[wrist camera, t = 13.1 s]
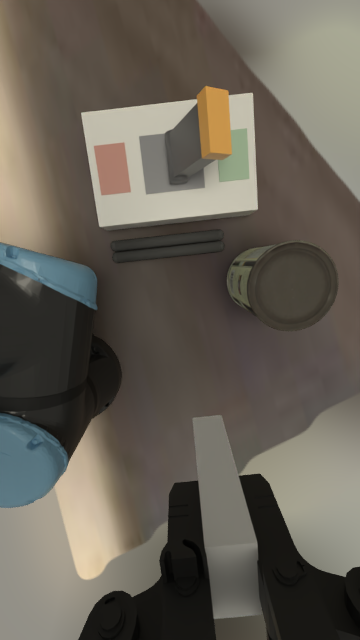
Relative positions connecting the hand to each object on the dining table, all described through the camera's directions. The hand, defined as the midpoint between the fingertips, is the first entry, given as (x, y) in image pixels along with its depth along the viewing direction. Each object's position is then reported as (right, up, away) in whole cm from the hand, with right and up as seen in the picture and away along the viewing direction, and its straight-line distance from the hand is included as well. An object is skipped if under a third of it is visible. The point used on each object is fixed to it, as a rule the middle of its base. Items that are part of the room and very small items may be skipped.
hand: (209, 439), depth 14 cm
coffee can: (+11, +13, +31) cm, 35 cm away
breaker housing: (-3, +28, +27) cm, 39 cm away
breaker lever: (-2, +27, +22) cm, 35 cm away
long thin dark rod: (-3, +18, +29) cm, 35 cm away
